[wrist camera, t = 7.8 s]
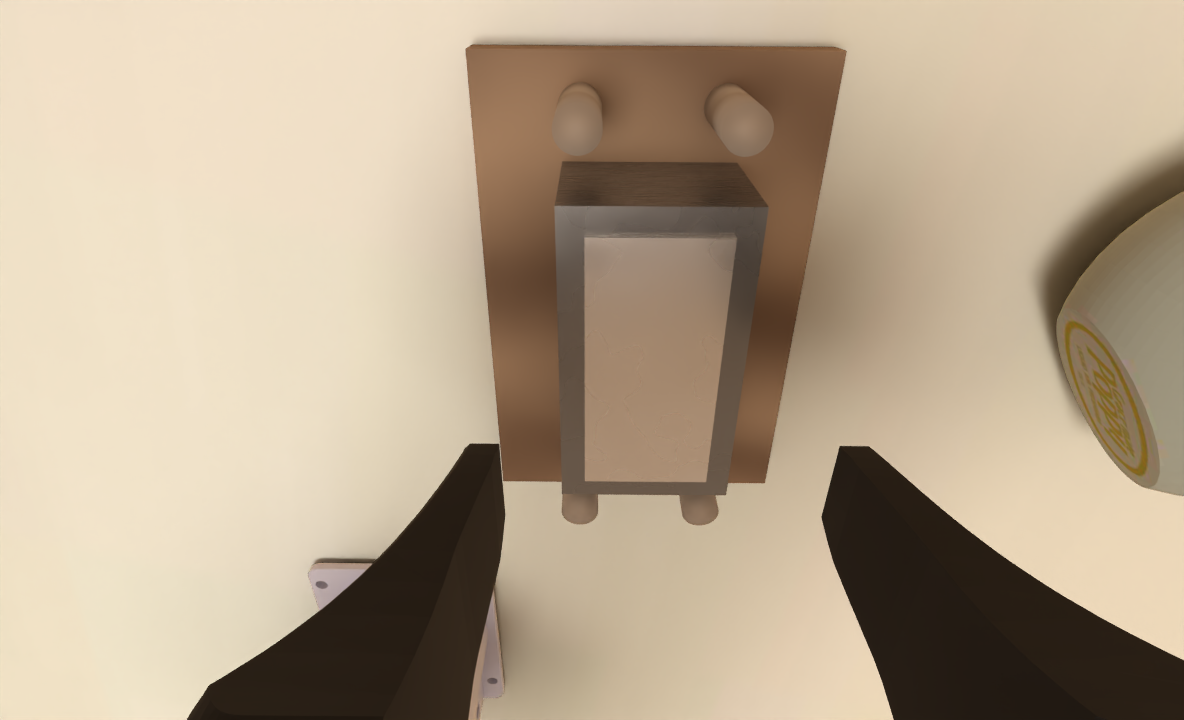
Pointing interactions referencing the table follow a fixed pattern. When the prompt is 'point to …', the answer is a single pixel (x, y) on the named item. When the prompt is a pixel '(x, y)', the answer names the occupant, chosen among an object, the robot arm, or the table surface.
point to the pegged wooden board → (639, 134)
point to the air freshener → (1133, 348)
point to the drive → (653, 322)
